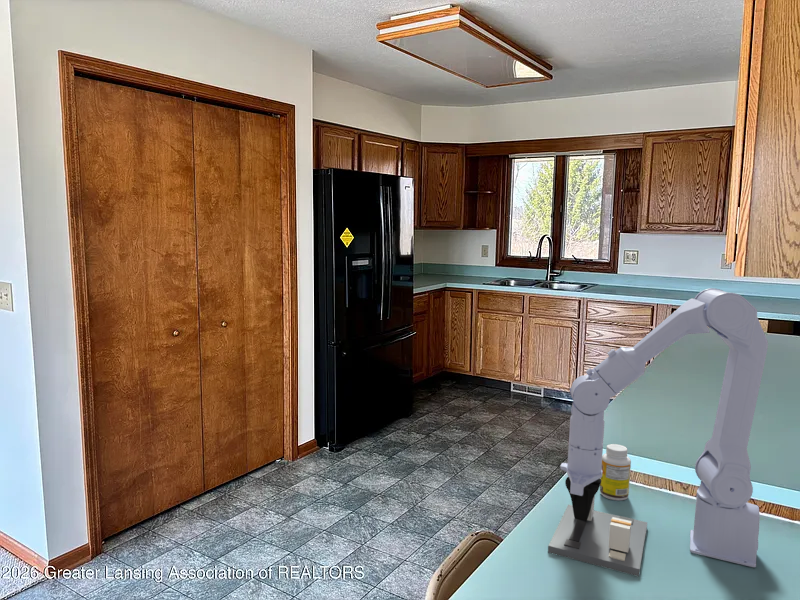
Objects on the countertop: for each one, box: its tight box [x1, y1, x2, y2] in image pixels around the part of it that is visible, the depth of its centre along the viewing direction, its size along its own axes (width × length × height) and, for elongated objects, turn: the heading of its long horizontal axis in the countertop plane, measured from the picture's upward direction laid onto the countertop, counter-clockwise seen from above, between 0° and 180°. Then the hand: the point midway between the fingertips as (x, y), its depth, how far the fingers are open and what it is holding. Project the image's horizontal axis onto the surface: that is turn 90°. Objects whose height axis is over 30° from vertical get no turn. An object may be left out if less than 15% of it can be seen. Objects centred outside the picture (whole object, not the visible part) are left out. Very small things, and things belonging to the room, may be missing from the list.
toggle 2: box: [609, 517, 632, 553], centre depth 95 cm, size 3×3×4 cm
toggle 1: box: [587, 495, 596, 521], centre depth 105 cm, size 3×3×4 cm
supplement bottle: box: [599, 443, 632, 501], centre depth 117 cm, size 6×6×10 cm
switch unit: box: [547, 504, 648, 577], centre depth 100 cm, size 14×17×1 cm
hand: (581, 518), depth 103 cm, fingers closed
